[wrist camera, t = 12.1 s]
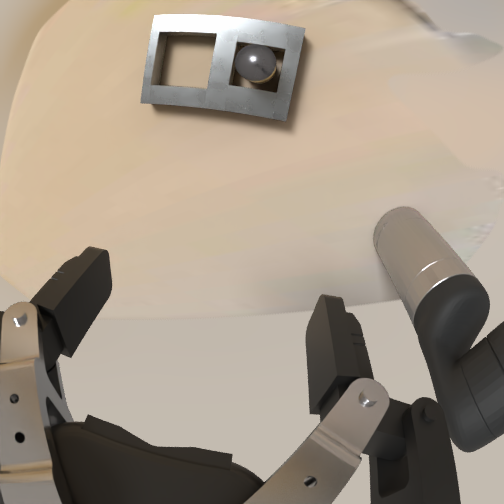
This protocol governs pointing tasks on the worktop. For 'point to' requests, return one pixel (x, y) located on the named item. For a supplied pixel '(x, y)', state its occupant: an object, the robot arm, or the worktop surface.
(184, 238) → the worktop surface
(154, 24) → the grey fitting block
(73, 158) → the worktop surface
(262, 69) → the gold and grey cylinder
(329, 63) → the worktop surface
